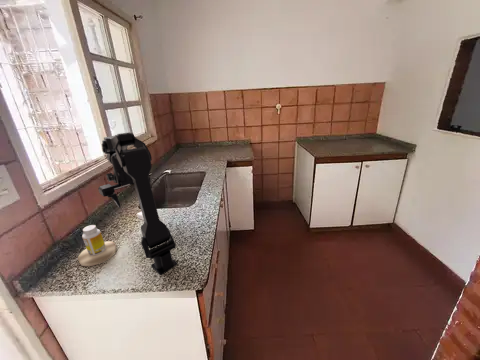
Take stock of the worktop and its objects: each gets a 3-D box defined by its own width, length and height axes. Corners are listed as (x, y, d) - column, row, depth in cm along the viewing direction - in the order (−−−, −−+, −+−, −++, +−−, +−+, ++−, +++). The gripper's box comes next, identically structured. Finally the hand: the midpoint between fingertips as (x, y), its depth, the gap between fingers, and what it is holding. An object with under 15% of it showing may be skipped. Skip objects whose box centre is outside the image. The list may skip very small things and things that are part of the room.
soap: (158, 217, 104) (157, 212, 103) (148, 223, 100) (147, 217, 99) (147, 213, 109) (146, 208, 108) (137, 218, 105) (136, 213, 104)
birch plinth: (121, 252, 81) (120, 249, 80) (84, 271, 73) (83, 268, 72) (110, 240, 88) (109, 237, 88) (75, 256, 80) (74, 253, 80)
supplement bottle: (109, 245, 83) (101, 222, 79) (101, 255, 78) (93, 231, 74) (93, 247, 82) (85, 224, 79) (85, 257, 77) (76, 233, 73)
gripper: (136, 159, 96) (144, 191, 102) (88, 170, 84) (100, 206, 89) (148, 163, 89) (155, 197, 95) (97, 176, 77) (109, 214, 82)
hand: (131, 203), depth 91 cm, fingers open, 9 cm apart
